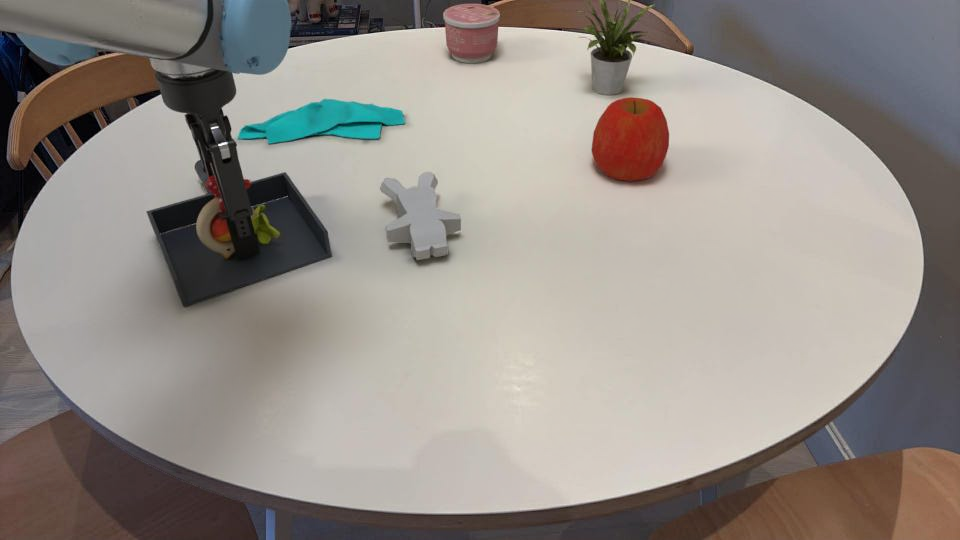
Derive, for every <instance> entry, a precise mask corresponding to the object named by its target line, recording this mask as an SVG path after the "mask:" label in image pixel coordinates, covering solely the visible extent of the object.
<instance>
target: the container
mask: <svg viewBox="0 0 960 540" xmlns="http://www.w3.org/2000/svg"><path fill="white" fill-rule="evenodd" d="M442 15H443V17H442V18H443V21H444V30H445V31H444V32H445V44H446V47H447V49H448V52H449V53H450V54H451V56H452V57H451V58H453V59H454V60H456V61H457V62H460V63H466V64H479V63H483V62H486V61H488V60H490V59H491V58H492V56H493V55H492V54H494V53H495V51H496V48H497V46H498V40H499V21H500V18H501V12H500V11H499V9H497V8H496V7H494V6H492V5H488V4H483V3H461V4H456V5H452V6H450V7H448V8H446V9H445V10H444V12H443V14H442Z"/></svg>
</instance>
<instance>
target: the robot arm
mask: <svg viewBox="0 0 960 540" xmlns="http://www.w3.org/2000/svg"><path fill="white" fill-rule="evenodd" d="M291 30H292V17H291V10H290V5H289V2H288V0H0V31H1V32H7V33H13V34H16V36H17V38H18V39H19V40H20V41H21V42H22V43H23V45H24V46H26V48H27V49H29V51H31V52H32V53H33V54H34V55H36V56H37V57H39V58H40V59H42V60H43V61H45V62H48V63H50V64H53V65H57V66H62V67H63V66H64V67H65V66H71V65H74V64H76V63H78V62H81V61H84V60H85V61H89V60H90V59H92V58H94V57H95V55H96V54H98V53H101V52H110V53H117V54H123V55H130V56H134V57H135V56H136V57H141V58H147V59H149V60H148V61H149V63H150V66H151V67H152V69H153V70H155V75H154V77H155V79H156V82H157V86H158V89H159V92H160V95H161V98H162V102H163V103H164V105H165V106H166V107H167V108H168V109H169V110H171V111H174V112H177V113H180V114H184V119H185V122H186V124H187V126H188V129H189V130H190V132H191V133H190V134H191V136H192V139H193V141H194V143H195V146H196V149H197V152H198V153H197V154H198V156H199V158H200V159H199V160H201V163H202V167H203V168H202V170H203V172H204V173H205V174H207V177H208V178H207V181H208V179H209V177H211V176H213V175H214V177H215V180H216V183H217V186H218V189H219V192H220V196H221V199H222V202H223V205H224V208H225V212H224V213H220V214H219V215H220V217H221V219H222V220H224V219H226V222H227V225H228V229H229V232H230V236H231V239H232V243H233V246H234V250H235V253H236V256H237V258H238V260H239V259H242V258H245V257H248V256H251V255H254V254H257V253H260V250H259V247H258V243H257V239H256V235H255V231H254V227H253V224H252V220H251V215H253V209H252V208H251V204H250V201H249V197H248V193H247V189H246V186H245V182H244V179H245V178H244V175H243V171H242V167H241V164H240V163H241V162H240V160H239V153H238V149H237V146H238V145H237V141H235V139H234V138H233V136H232V130H233V129H232V126H231V125H232V124H231V122H230V119H229V117H228V115H225V114H224V111H223V108H224V107H225V106H227V105H228V104H230V103H231V102H232V101H233V100H234V99H235V97H236V95H237V86H236V81H235V78H234V74H235V75H239V74H249V75H255V76H256V75H258V76H261V75H263V76H264V75H267V74H270V73H272V72H273V71H274V70H276V69H277V68H278V67H279V66H280V65H281V64H282V62H283V61H284V59H285V57H286V55H287V53H288V50H289V47H290V43H291ZM212 195H213V198H215V195H214V194H213V193H212Z"/></svg>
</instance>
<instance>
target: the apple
mask: <svg viewBox="0 0 960 540" xmlns="http://www.w3.org/2000/svg"><path fill="white" fill-rule="evenodd" d="M669 146H670V131H669V126H668V121H667V118H666V116H665V114H664V111H663V109H662V107H660V106H659V105H658V104H657V103H655V102H654V101H653V100H651V99H647V98H641V97H631V96H630V97H623V98H619V99H616V100H614V101H612V102H611V103H610V104H609V105H608V106H607V107H606V108H605V110H604V111H603V113H602V114H601V115H600V117H599V118H598V120H597V123H596V126H595V128H594V130H593V135H592V143H591V154H592V158H593V161H594V163H595V164H596V166H597V168H598V169H599V170H600V171H601V172H603V173H604V174H605V175H606V176H607V177H609V178H612V179H615V180H618V181H627V182H634V181H641V180H646V179H648V178H651V177H653V176H654V175H655V174H656V173H658V171H659V170H660V168H661V167H662V166H663V164H664V162H665V159H666V158H667V153H668V151H669Z"/></svg>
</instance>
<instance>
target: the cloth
mask: <svg viewBox="0 0 960 540" xmlns="http://www.w3.org/2000/svg"><path fill="white" fill-rule="evenodd" d="M405 124H406V120H405V118H404V113H403V110H402V109H397V108H393V107H389V106H380V105H377V104H373V103H361V102H357V101H345V100H338V99H331V98H323V99H322V100H320V101H313V102H312V101H311V102H310V103H307V104H304V105H303V106H301V107H298V108H296V109H292V110H287V111H285V112H283V113H280V114H277V115H275V116H273V117H271V118H269V119H267V120H266V121H264V122H258V123H257V122H256V123H252V124H247V125H244V126H243V127H241V129H240V131H239V133H238V135H237V139H238V140H253V139H262V138H263V139H265V138H266V139H267V143H268V145H273V144H278V143H279V144H280V143H284V142H285V143H286V142H291V141H295V140H299V139H302V138H306V137H309V136H322V135H323V136H324V135H325V136H331V135H333V136H337V137H341V138H347V139H361V140H379V139H380V137H381V136H380V135H381V132H382V131H381V130H382V128H383V125H386V126H389V127H390V126H399V125H405Z"/></svg>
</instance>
